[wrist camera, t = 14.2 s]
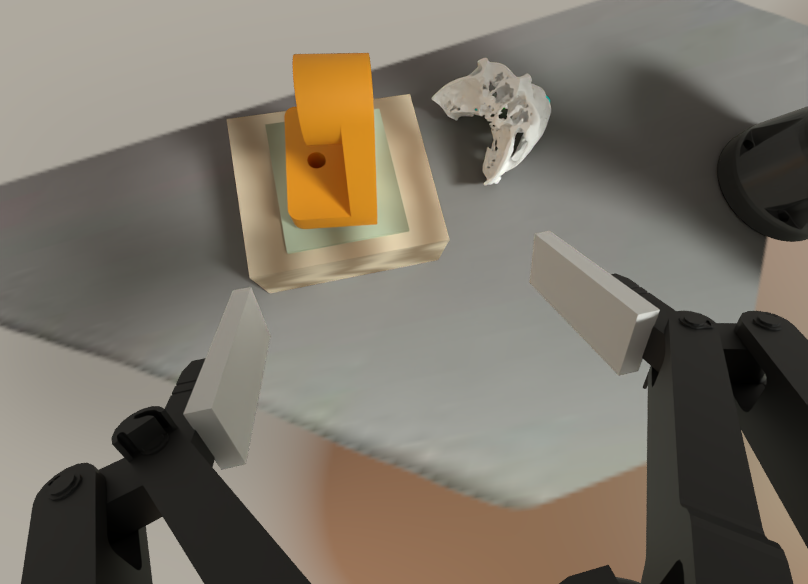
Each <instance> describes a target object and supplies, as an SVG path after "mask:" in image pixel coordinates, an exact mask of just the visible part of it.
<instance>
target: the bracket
mask: <svg viewBox="0 0 808 584" xmlns="http://www.w3.org/2000/svg"><path fill="white" fill-rule="evenodd" d="M293 80H294V89H295V97H296V104H297V107H291V108H289V109H288V110H287V111H286V113H285V116H284V120H285V148H286V175H287V203H288V213H289V215H290V217H291V218H292V220H293V222H294V224H295V225H296V226H297V227H298V228H301V229H314V228H330V227H345V226H361V225H376V224H377V188H376V157H375V127H374V104H373V88H372V75H371V65H370V57H369V53H337V54H294V55H293Z"/></svg>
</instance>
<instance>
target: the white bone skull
mask: <svg viewBox="0 0 808 584" xmlns="http://www.w3.org/2000/svg"><path fill="white" fill-rule="evenodd" d="M490 81H491V83H492V85H493V86H494V87H495V89H494V90H492V91H491V92H490V90H489V86H490ZM531 81H532V79H531V76H530V75H529V74H525V75H524V76H521V77H516V76H515V75H514V74H513V73H512V71H511V70H510V69H508V67H507V66H505V65H503V64H501V63H496V62H489V61H488V59H487V58H483V59H480V60H478V67H477V68H476V69H475V70H474V71H473V72H472V73H471V74H469V75H468V76H465V77H462V78H458V79H456V80H453V81H451V82H449V83H448V84H446V85H445V86H444V87H442V88H441V89H440V90H439V91H438V92H437V93H435V94H434V95H433V97H432V100H433V101H435V102H436V103H437V104H439V105H440V106H441V107H442V108H443V110H444V111H445V113H446V114H447V116H448V117H450V118H452V119H455V120H458V118H459V117H461V116H471V117H472V116H473V114H475V115H480V116H483V115H485V119H487V121H491V122H492V123H490V124H489V125H491V126H490V127H491V128H492V129H493V131H492V129H491V131H492V135H493V138H494V141H493V143H492V148H491V149H490V148H489V147H488V148H487V151H486V155H485V160H484V163H483V173H484V175H485V176H486V178H487V181H486V182H484V183H483V184H484V185H485V186H486V185H487V184H491V185H492V184H493V183H496V184H497V183H498V182H499V181H500V179H501V177H500V176H501V175H502V174H504V173H505V172H506V171H508V170H510V169H512V168H514V167H516V166H517V165H518V164H519V163H520V162H521V161H522V160H523V159H524V158H525V157H526V156H527V154H529V153H530V151H531V150H532V148H533V147H534V145H535V144H536V143H537V142H538V141H539V139H540V138H541V136H542V135H543V133H544V131H545V129H546V126H547V123H548V120H549V117H550V114H551V105H550V98H549V97H548V96H546V93H545V92H544V90H543V89H542V88H541V87H539V86H536V85H535V84H531ZM484 87H485V88H486V89H484ZM495 92H497V96H496V98H495V96H492V94H493V93H495ZM502 109H508V112H507V119H504V118H502V119H499V114H501V113H503V112H501V110H502ZM475 110H476V111H475ZM492 110H494V111H492ZM491 114H495V116H494V117H491ZM510 116H513V117H512V119H511V118H510ZM515 118H516V119H515ZM493 125H495V127H493ZM496 130H498V131H496ZM517 133H523V135H522V138H521V140H520V143H519V145H518V146H517V149H516V151H515V153H514V154H513V155H512V152H513V150H514V148H513V147H514V142H515V136H516V134H517ZM499 137H500V138H499ZM496 140H497V145H495V141H496ZM496 146H497V148H498V149H497V151H495V147H496ZM492 151H493V152H492ZM511 155H512V156H511Z"/></svg>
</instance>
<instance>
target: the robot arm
mask: <svg viewBox="0 0 808 584" xmlns="http://www.w3.org/2000/svg"><path fill="white" fill-rule="evenodd" d="M718 177H719V183H720V186H721V189H722V192H723V194H724V196H725V198H726V200H727V202H728V204H729V205H730V207H731V208H732V209H733V211H734V212H735V213H736V214H737V215H738V216H739V217H740V218H741V219H742V220H743V221H744V222H745V223H746V224H747V225H749V226H750V227H751V228H753V229H754V230H756V231H758V232H759V233H761V234H763V235H765V236H768V237H770V238H774V239H777V240H781V241H790V242H794V241H802V240H806V239H808V106H807V107H805V108H802V109H799V110H796V111H793V112H790V113H787V114H784V115H782V116H779V117H776V118H773V119H770V120H767V121H764V122H761V123H759V124H757V125H755V126H753V127H751V128H749V129H747V130H746V131H744V132H743V133H741V134H740V135H738V136H737V137H735V138H734V139H732V140H731V141H730V142H729V143H728V144H727V145H726V146H725V148H724V149H723V151H722V153H721V156H720V159H719V164H718ZM530 284H531V285H532V286H533V287H534V288H535V289H536V290H537V291H538V292H539V293H540V294H541V295H542V296H543V297H544V298H545V299H546V301H547V302H548V303H549V304H550V305H551V306H552V307H553V308H554V309H555V310H556V311H557V312H558V313H559V314H560V315H561V316H562V317H563V318H564V319H565V320H566V321H567V322H568V323H569V324H570V325H571V326H572V328H573V329H574V330H575V331H576V332H577V333H578V334H579V335H580V336H581V337H582V338H583V339H584V340H585V341H586V342H587V343H588V344H589V345H590V346H591V347H592V348H593V349H594V350H595V351H596V352H597V353H598V355H599V356H600V357H601V358H602V359H603V360H604V361H605V362H606V363H607V364H608V365H609V366H610V367H611V368H612V369H613V370H614V371H615V372H616V373H617V374H618V375H619V376H620V375H624V374H628V373H632V372H636V371H638V370H639V367H640V365H641V362H642V359H644V360H645V361H646V362H647V363H649V364H650V365H651V367H650V369H649V372H648V375H647V377H646V380H645V382H644V385H643V388H644V389H646V388H647V386H648V427H647V527H646V529H647V530H646V532H647V533H646V561H645V567H644V571H643V575H642V580H641V583H639V582H636V581H633V580H628V579H624V578H618V577H615V575H614V573H613V572H612V570H611V568H610V567H609V565H606V566H603V567H599V568H596V569H593V570H589V571H586V572H582V573H579V574H576V575H572V576H569V577H567V578H566V579H565V580H563V581H562V582H561V583H559V584H793V580H792V577H791V572H790V569H789V565H788V561H787V558H786V556H785V553H784V551H783V549H782V548H781V547H780V545H779V544H778V543H776V542H774V541H771V540H768V539H767V537H766V536H765V534H764V531H763V528H762V523H761V519H760V514H759V510H758V505H757V501H756V496H755V492H754V487H753V483H752V478H751V473H750V469H749V465H748V460H747V455H746V451H745V447H744V442H743V437H742V433H741V430H742V432H743V433H744V435H745V437H746V439H747V441H748V443H749V444H750V446H751V448H752V450H753V451H754V453H755V455H756V457H757V459H758V460H759V462H760V464H761V466H762V468H763V469H764V471H765V473H766V475H767V476H768V478H769V480H770V482H771V484H772V485H773V487H774V489H775V491H776V493H777V494H778V496H779V498H780V500H781V501H782V503H783V505H784V507H785V508H786V510H787V512H788V514H789V516H790V518H791V519H792V521H793V523H794V525H795V526H796V528H797V530H798V532H799V534H800V535H801V537H802V539H803V541H804V542H805V544H806V546H807V548H808V340H807V339H806V338H805V337H804V336H803V334H801V332H799V330H798V329H797V328H796V327H795V326H794V325H793V324H792V323H790V322H789V321H788V320H786V319H784V318H782V317H780V316H778V315H775V314H771V313H768V312H761V311H747V312H745V313H742V315H741V317H740V318H739V320H738V322H737V323H715V322H714V321H713V320H711V319H710V318H709V317H706V316H704V315H702V314H699V313H695V312H691V311H675V310H674V309H672V308H671V307H669V306H668V305H666V304H665V303H663V302H662V301H661V300H659V299H658V298H656V297H655V296H653V295H652V294H650V293H647V291H646V290H645V289H643V288H642V287H639V285H637V284H636V283H634V282H633V281H632V280H630V279H628V278H626V277H623V276H621V275H618V274H609V273H608V272H606V271H605V270H604V269H602V268H601V267H600V266H598V265H597V264H595V263H594V262H593V261H591V260H590V259H588V258H587V257H586V256H584V255H583V254H581V253H580V252H579V251H577V250H576V249H574V248H573V247H572V246H570V245H569V244H567V243H566V242H565V241H563V240H562V239H560V238H559V237H558V236H556V235H555V234H554V233H552V232H551V231H546V232H541V233H536V234H535V235H534V245H533V255H532V265H531V275H530ZM270 337H271V335H270V332H269V330H268V327H267V325H266V323H265V320H264V318H263V315H262V313H261V310H260V308H259V305H258V303H257V300H256V298H255V296H254V293H253V291H252V288H251V287H248V288H243V289H237V290H233V291H232V294H231V296H230V299H229V301H228V304H227V306H226V309H225V311H224V314H223V316H222V319H221V321H220V324H219V326H218V329H217V331H216V334H215V336H214V339H213V341H212V344H211V346H210V349H209V351H208V354H207V356H206V358H205V359H200V360H195V361H192V362H191V363H190V364H189V365H188V366H187V367H186V368H185V369H184V370H183V371H182V373H181V375H180V377H179V379H178V381H177V383H176V385H177V386H175V388H174V390H173V392H172V396H171V397H170V399H169V401H168V403H167V405H166V407H165V409H163V408H162V407H159V406H152V407H148V408H144V409H142V410H139V411H137V412H136V413H134V414H132V415H130V416H129V417H128V418H126V419H125V420H124V421H123V422H122V423H121V424H120V425H119V426H118V427H117V428H116V429H115V431H114V434H113V436H112V444H113V445H114V447H115V448H116V449H117V450H118V451H119V452H120V453H121V454H122V455H123V456H124V457H125V458H123V459H121V460H119V461H117V462H114V463H112V464H110V465H108V466H106V467H104V468H102V469H100V470H98V469H97V468H96V467H94V466H93V465H91V464H89V463H81V464H76V465H74V466H71V467H69V468H66V469H65V470H63V471H62V472H60V473H58V474H57V475H55V476H54V477H53V478H52V479H51V480H49V481H48V482H47V483H46V484H45V485H44V486H43V487H42V489H41V490H40V491H39V493H38V494H37V495H36V498H35V500H34V503H33V508H32V514H31V521H30V528H29V535H28V541H27V547H26V554H25V560H24V567H23V574H22V581H21V584H153V583H152V575H151V566H150V558H149V550H148V541H147V534H146V525H148V524H150V523H151V522H153V521H155V520H157V519H159V518H161V517H163V518H164V519H165V521H166V523H167V524H168V526H169V528H170V529H171V531H172V532H173V534H174V536H175V537H176V539H177V540H178V542H179V543H180V545H181V547H182V548H183V550H184V552H185V553H186V555H187V556H188V558H189V560H190V561H191V563H192V564H193V566H194V568H195V569H196V571H197V573H198V574H199V576H200V577H201V579H202V581H203V582H204V584H311V583H310V582H309V581H308V579H307V578H306V577H305V576H304V575H303V574H302V572H301V571H300V570H299V569H298V568H297V566H296V565H295V564H294V563H293V562H292V561H291V559H290V558H289V557H288V556H287V555H286V553H285V552H284V551H283V550H282V549H281V548H280V546H279V545H278V544H277V543H276V542H275V541H274V539H273V538H272V537H271V536H270V535H269V533H268V532H267V531H266V530H265V529H264V528H263V526H262V525H261V524H260V523H259V522H258V521H257V519H256V518H255V517H254V516H253V515H252V514H251V513H250V511H249V510H248V509H247V508H246V507H245V505H244V504H243V503H242V502H241V501H240V499H239V498H238V497H237V496H236V495H235V494H234V493H233V491H232V490H231V489H230V488H229V487H228V485H227V484H226V483H225V482H224V481H223V479H222V478H221V477H220V476H219V475H218V474H217V472H216V471H215V470H214V469H213V468H212V467H213V463H214V460H215V461H216V463H217V464H218V465H219V467H220V468H221V470H223V469H227V468H231V467H235V466H239V465H244V464H246V461H247V456H248V451H249V446H250V441H251V435H252V430H253V424H254V420H255V414H256V409H257V404H258V399H259V394H260V389H261V383H262V378H263V373H264V368H265V363H266V357H267V352H268V347H269V342H270Z"/></svg>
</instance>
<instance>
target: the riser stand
mask: <svg viewBox="0 0 808 584" xmlns="http://www.w3.org/2000/svg"><path fill="white" fill-rule="evenodd" d="M373 104H374V127H375V157H376V188H377V224H376V225H361V226H345V227H330V228H314V229H301V228H298V227H297V226H296V225H295V224H294V222H293V220H292V218H291V217H290V215H289V213H288V203H287V175H286V148H285V120H284V116H285V113H286V111H282V112H275V113H268V114H260V115H253V116H246V117H238V118H231V119H227V125H228V132H229V139H230V146H231V153H232V160H233V167H234V174H235V180H236V187H237V194H238V201H239V208H240V215H241V222H242V229H243V236H244V242H245V249H246V256H247V263H248V270H249V277H250V279H252V280H253V281H254V282H255V283H257V284H258V285H259V286H261V287H262V288H263V289H265V290H266V291H267V292H268V293H274V292H279V291H284V290H289V289H294V288H300V287H305V286H310V285H315V284H320V283H325V282H330V281H335V280H340V279H345V278H350V277H355V276H360V275H365V274H370V273H375V272H380V271H385V270H390V269H395V268H400V267H405V266H410V265H415V264H420V263H425V262H430V261H435V260H438V259H439V258H440V256H441V254H442V252H443V250H444V248H445V247H446V245H447V243H448V241H449V236H448V233H447V229H446V225H445V221H444V218H443V214H442V210H441V207H440V203H439V199H438V196H437V192H436V188H435V185H434V181H433V177H432V174H431V170H430V166H429V163H428V159H427V155H426V152H425V148H424V144H423V141H422V137H421V133H420V130H419V126H418V122H417V118H416V115H415V111H414V107H413V104H412V100H411V96H410V94H407V95H400V96H393V97H385V98H378V99H373Z"/></svg>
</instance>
